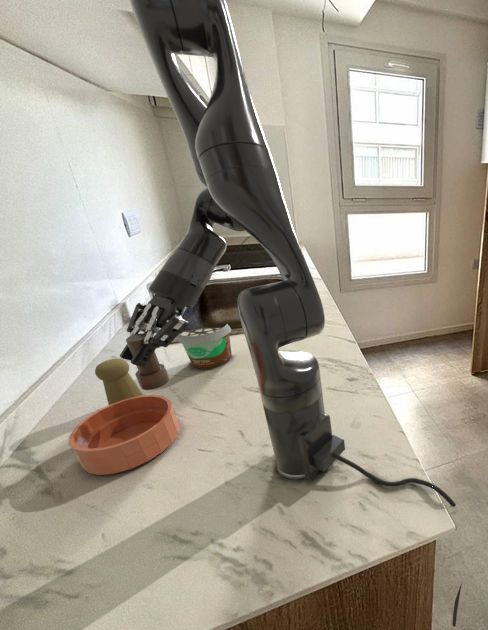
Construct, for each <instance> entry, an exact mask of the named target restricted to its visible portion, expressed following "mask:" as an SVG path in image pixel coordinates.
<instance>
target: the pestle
mask: <svg viewBox="0 0 488 630" xmlns="http://www.w3.org/2000/svg"><path fill="white" fill-rule="evenodd" d="M146 335H147V333H140V334H135V335H132V336H130V335H129V336H128V337H127V338H126V339H125V342H126V345H127V344H128V347H129V349H130V352H131V354H132V357H133V356H134V355H135V353H136V351H137V350H138V348H139V347H140V345H141V344H143V341H144V339H145V337H146ZM135 366H136V368H137V371H136V372H135V377H136V380H137V382H138V384H139V387H140V390H143V391H153V390H156V389H159V388H161V387H164V386H165V385H166V384H168V382H170V377H169V374H168V372H167V369H166V367H165V366H166V365H164V364H163V363H160V361H159V359H158V355H157V354H156V350H155V351H154V353H153V354H152V356H151V358H150V359H149V361H148V363H147V364H146V365H145V366H144V367H141V366H137V365H135Z"/></svg>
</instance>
